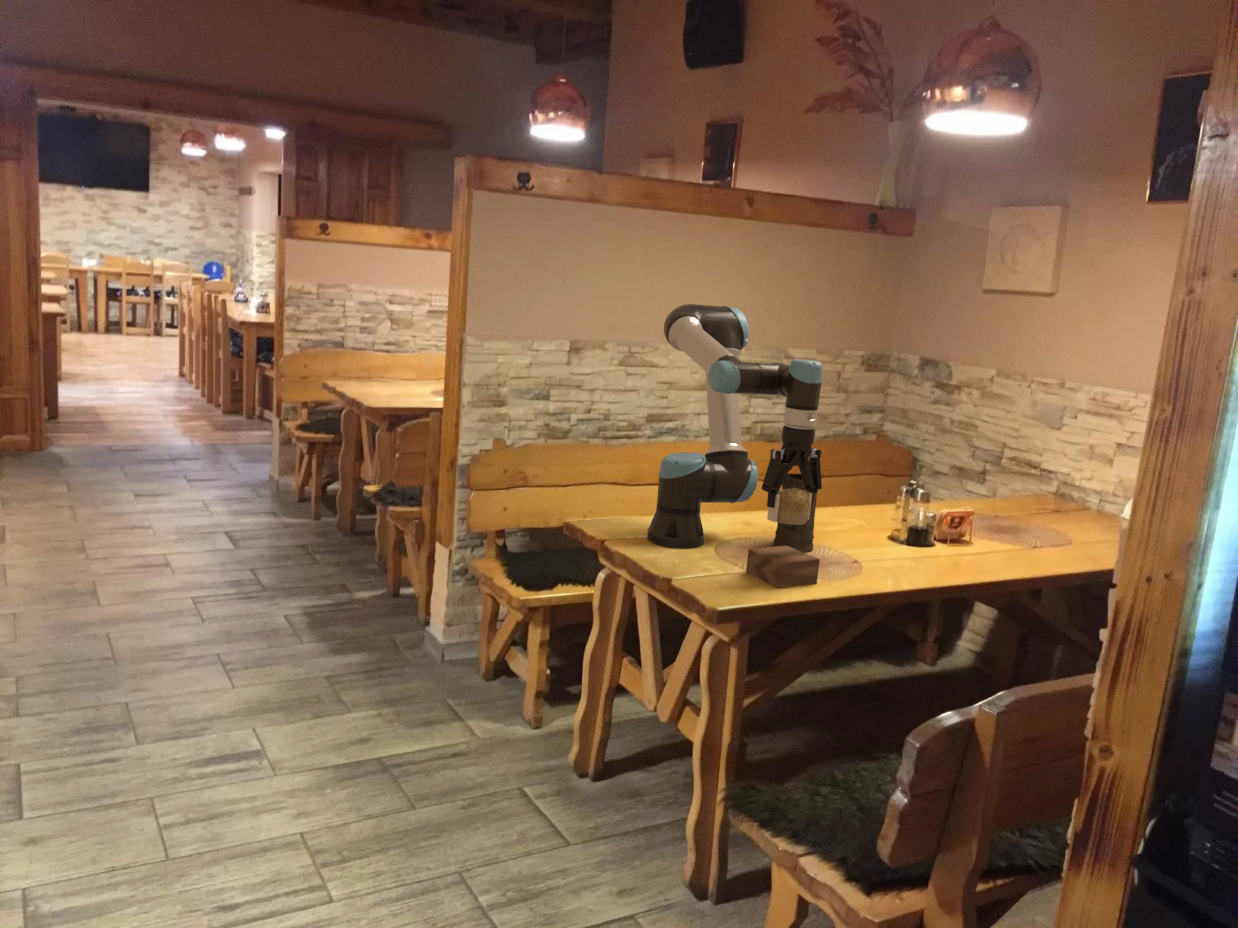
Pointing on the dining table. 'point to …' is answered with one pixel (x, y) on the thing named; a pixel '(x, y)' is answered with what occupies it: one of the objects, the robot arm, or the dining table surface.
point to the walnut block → (782, 566)
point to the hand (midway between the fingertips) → (788, 519)
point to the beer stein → (796, 534)
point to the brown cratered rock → (793, 507)
